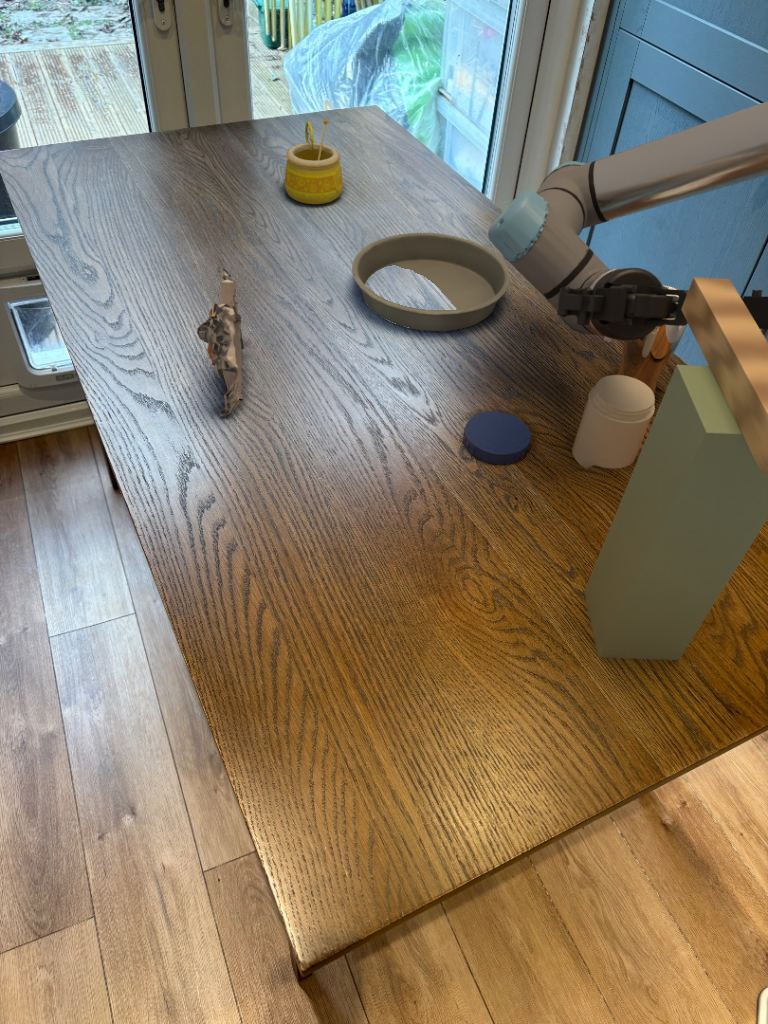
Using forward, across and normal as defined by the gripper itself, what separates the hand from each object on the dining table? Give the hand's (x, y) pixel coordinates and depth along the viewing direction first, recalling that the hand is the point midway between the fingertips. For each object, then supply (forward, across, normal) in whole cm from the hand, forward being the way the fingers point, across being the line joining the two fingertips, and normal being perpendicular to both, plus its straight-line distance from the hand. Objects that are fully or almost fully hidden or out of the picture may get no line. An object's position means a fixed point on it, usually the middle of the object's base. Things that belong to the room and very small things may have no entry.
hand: (702, 309), depth 62 cm
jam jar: (-29, -3, -18) cm, 35 cm away
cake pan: (-60, +18, 0) cm, 63 cm away
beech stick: (+8, 0, -5) cm, 9 cm away
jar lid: (-30, +11, -17) cm, 36 cm away
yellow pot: (-90, +39, +17) cm, 100 cm away
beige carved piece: (-38, +46, -13) cm, 62 cm away
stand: (-6, 0, -32) cm, 32 cm away
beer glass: (-40, -9, -12) cm, 43 cm away
